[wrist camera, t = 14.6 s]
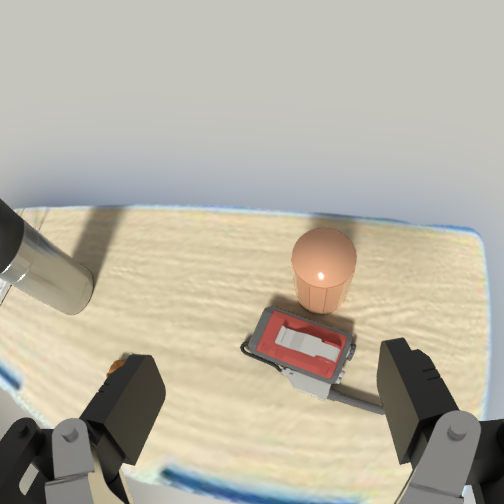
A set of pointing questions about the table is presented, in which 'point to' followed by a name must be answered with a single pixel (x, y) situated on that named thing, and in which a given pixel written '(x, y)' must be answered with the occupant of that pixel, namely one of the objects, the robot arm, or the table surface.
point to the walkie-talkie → (305, 354)
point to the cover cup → (323, 269)
